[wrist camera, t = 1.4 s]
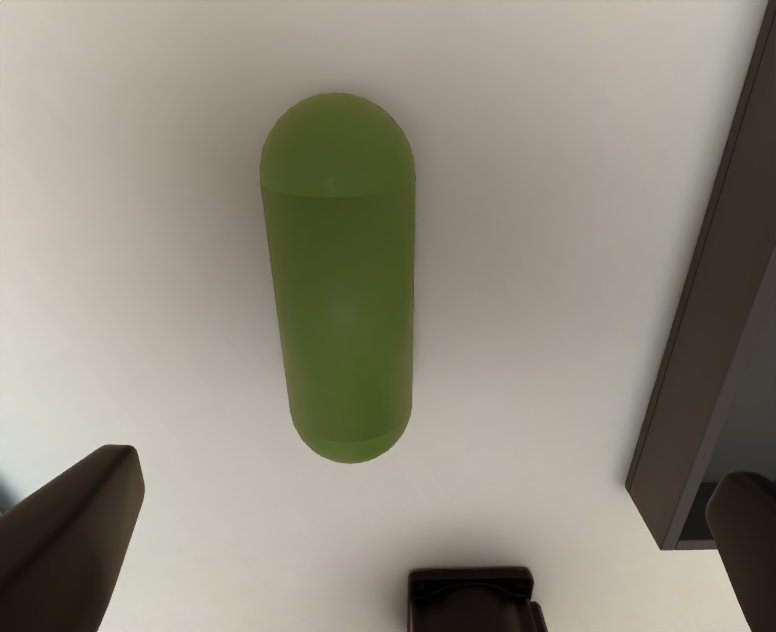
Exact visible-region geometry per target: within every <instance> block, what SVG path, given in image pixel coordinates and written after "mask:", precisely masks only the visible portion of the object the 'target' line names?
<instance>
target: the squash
mask: <svg viewBox="0 0 776 632" xmlns="http://www.w3.org/2000/svg"><path fill="white" fill-rule="evenodd" d="M415 178H416V176H415V163H414V158H413V154H412V151H411V147H410V144H409V142H408V140H407V138H406V136H405V134H404V133H403V131H402V129H401V128H400V127H399V126H398V124H397V123H396V122H395V121H394V119H393V118H392V117H391V116H390V115H389V114H387V113H386V112H385V111H384V110H383V109H382V108H380V107H379V106H377V105H376V104H374V103H372V102H370V101H368V100H366V99H364V98H361V97H357V96H354V95H351V94H342V93H330V94H320V95H317V96H314V97H311V98H308V99H305V100H303V101H301V102H299V103H298V104H296V105H295V106H293V107H291V108H290V109H289V110H288V111H287V112H286V113H284V114H283V115H282V116H281V117H280V118H279V119H278V121H277V122H276V124H275V125H274V127H273V128H272V130H271V131H270V133H269V135H268V137H267V139H266V142H265V144H264V147H263V150H262V155H261V161H260V185H261V192H262V200H263V208H264V215H265V223H266V231H267V238H268V246H269V254H270V261H271V269H272V277H273V284H274V292H275V299H276V307H277V315H278V322H279V330H280V338H281V345H282V353H283V361H284V368H285V376H286V384H287V391H288V399H289V407H290V413H291V416H292V420H293V424H294V427H295V428H296V430H297V432H298V434H299V435H300V437H301V439H302V440H303V441H304V442H305V443H306V444H307V445H308V446H309V447H310V448H311V449H312V450H313V451H314V452H315V453H317V454H319V455H320V456H322V457H324V458H327V459H329V460H332V461H335V462H340V463H350V464H352V463H361V462H365V461H369V460H372V459H374V458H376V457H378V456H380V455H381V454H383V453H385V452H386V451H388V450H389V449H390V448H391V447H392V446H393V445H394V444H395V443H396V442H397V441H398V439H399V438H400V437H401V435H402V434H403V433H404V431H405V428H406V426H407V424H408V421H409V418H410V415H411V408H412V376H413V310H414V244H415Z"/></svg>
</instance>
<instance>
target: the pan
mask: <svg viewBox="0 0 776 632" xmlns="http://www.w3.org/2000/svg"><path fill="white" fill-rule="evenodd" d="M729 471H750V472H756V473H759V474H761V475H763V476H764V477H766V478H767V479H769V480H771V481H772V482H774V483H775V484H776V0H770V2H769V5H768V9H767V12H766V15H765V19H764V22H763V25H762V29H761V32H760V35H759V39H758V42H757V46H756V49H755V52H754V56H753V59H752V62H751V66H750V69H749V72H748V76H747V79H746V83H745V86H744V89H743V93H742V96H741V99H740V103H739V106H738V109H737V113H736V116H735V119H734V123H733V126H732V130H731V133H730V136H729V140H728V143H727V146H726V150H725V153H724V156H723V160H722V163H721V167H720V170H719V173H718V177H717V180H716V183H715V187H714V190H713V193H712V197H711V200H710V203H709V207H708V210H707V214H706V217H705V220H704V224H703V227H702V230H701V234H700V237H699V240H698V244H697V247H696V251H695V254H694V257H693V261H692V264H691V267H690V271H689V274H688V277H687V281H686V284H685V287H684V291H683V294H682V298H681V301H680V304H679V308H678V311H677V314H676V318H675V321H674V324H673V328H672V331H671V335H670V338H669V341H668V345H667V348H666V351H665V355H664V358H663V361H662V365H661V368H660V372H659V375H658V378H657V382H656V385H655V388H654V392H653V395H652V398H651V402H650V405H649V408H648V412H647V415H646V419H645V422H644V425H643V429H642V432H641V435H640V439H639V442H638V445H637V449H636V452H635V456H634V459H633V462H632V466H631V469H630V472H629V476H628V479H627V482H626V486H625V488H626V490H627V491H628V493H629V495H630V496H631V498H632V500H633V502H634V504H635V505H636V507H637V509H638V511H639V513H640V514H641V516H642V518H643V520H644V522H645V523H646V525H647V527H648V529H649V531H650V532H651V534H652V536H653V538H654V540H655V541H656V543H657V545H658V547H659V549H660V550H674V549H675V550H709V549H717V546H716V544H715V541H714V539H713V536H712V534H711V531H710V529H709V526H708V524H707V520H706V506H707V504H708V502H709V500H710V498H711V496H712V494H713V493H714V491H715V489H716V487H717V485H718V484H719V482H720V480H721V478H722V477H723V475H724V474H725V473H727V472H729Z"/></svg>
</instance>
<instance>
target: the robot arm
mask: <svg viewBox="0 0 776 632" xmlns="http://www.w3.org/2000/svg"><path fill="white" fill-rule="evenodd" d="M144 493H145V484H144V479H143V475H142V470H141V466H140V461H139V457H138V453H137V450H136V449H135V448H134V447H133V446H130V445H111V444H109V445H104V446H102V447H100V448H98V449H97V450H95V451H94V452H92V453H91V454H89V455H88V456H87V457H85V458H84V459H82V460H81V461H79V462H78V463H76V464H75V465H73V466H72V467H70V468H69V469H68V470H66V471H65V472H63V473H62V474H60V475H59V476H57V477H56V478H54V479H53V480H52V481H50V482H49V483H47V484H46V485H44V486H43V487H41V488H40V489H38V490H37V491H35V492H34V493H33V494H31V495H30V496H28V497H27V498H25V499H24V500H22V501H21V502H19V503H18V504H17V505H15V506H14V507H12V508H11V509H9V510H8V511H6V512H5V513H3V514H2V515H0V632H97V631H98V628H99V626H100V624H101V622H102V619H103V617H104V614H105V612H106V610H107V607H108V605H109V602H110V599H111V596H112V593H113V591H114V588H115V585H116V582H117V579H118V576H119V573H120V570H121V567H122V563H123V560H124V557H125V554H126V551H127V548H128V545H129V542H130V539H131V536H132V533H133V530H134V527H135V524H136V521H137V518H138V515H139V512H140V509H141V506H142V503H143V499H144ZM706 520H707V524H708V526H709V529H710V531H711V534H712V536H713V539H714V541H715V544H716V546H717V549H718V551H719V554H720V556H721V559H722V561H723V564H724V567H725V569H726V572H727V574H728V577H729V579H730V582H731V584H732V587H733V589H734V592H735V594H736V597H737V599H738V602H739V604H740V607H741V609H742V611H743V614H744V616H745V618H746V621H747V623H748V625H749V627H750V629H751V631H752V632H776V484H775V483H774V482H772V481H771V480H769V479H767V478H766V477H764V476H763V475H761V474H759V473H756V472H750V471H729V472H727V473H725V474H724V475H723V477H722V478H721V480H720V482H719V484H718V485H717V487H716V489H715V491H714V493H713V494H712V496H711V498H710V500H709V502H708V504H707V506H706ZM533 585H534V580H533V577H532V573H531V572H530V571H528V570H491V571H445V572H415V573H412V574H410V575H409V576H408V600H407V632H548V630H547V627H546V623H545V620H544V616H543V613H542V609H541V606H540V605H539V604H538V603H537V602H536V601H530V600H531V595H532V590H533Z"/></svg>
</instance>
